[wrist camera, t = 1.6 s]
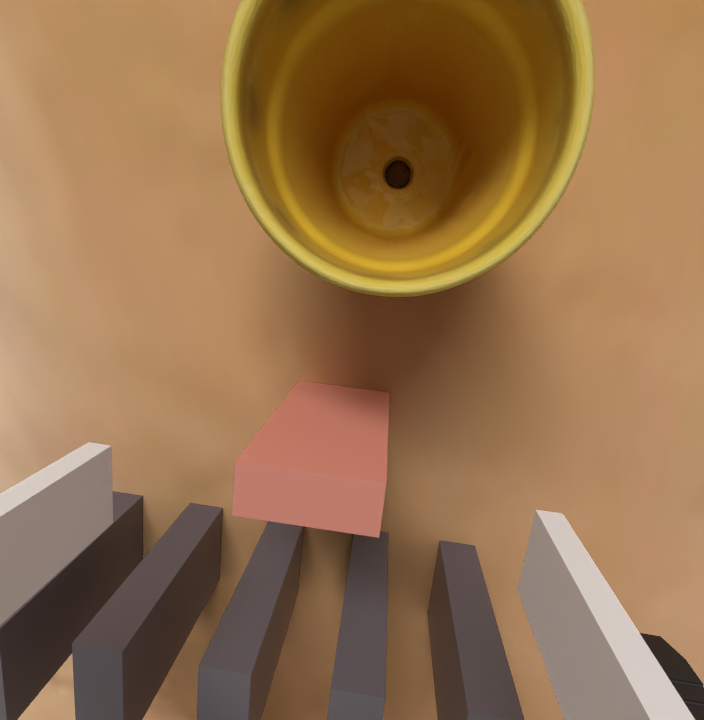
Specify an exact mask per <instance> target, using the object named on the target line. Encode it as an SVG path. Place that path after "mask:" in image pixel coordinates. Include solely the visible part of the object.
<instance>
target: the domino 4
mask: <svg viewBox="0 0 704 720" xmlns="http://www.w3.org/2000/svg"><path fill="white" fill-rule="evenodd" d="M388 423H389V392H383V391H375V390H367V389H359V388H352V387H344V386H336V385H328V384H321V383H313V382H305V381H298V383H297V384H296V385H295V386H294V388H293V389H292V390H291V391H290V393H289V394H288V395H287V396H286V398H285V399H284V400H283V401H282V403H281V404H280V405H279V407H278V408H277V409H276V410H275V412H274V413H273V414H272V415H271V417H270V418H269V419H268V420H267V422H266V423H265V424H264V425H263V427H262V428H261V429H260V430H259V432H258V433H257V434H256V436H255V437H254V438H253V439H252V441H251V442H250V443H249V444H248V446H247V447H246V448H245V449H244V451H243V452H242V453H241V454H240V456H239V457H238V458H237V459H236V461H235V469H234V490H233V511H232V516H238V517H245V518H252V519H258V520H265V521H271V522H278V523H285V524H291V525H298V526H305V527H311V528H318V529H324V530H331V531H338V532H344V533H351V534H357V535H364V536H371V537H377V538H379V535H380V528H381V520H382V513H383V506H384V498H385V491H386V484H387V454H388Z"/></svg>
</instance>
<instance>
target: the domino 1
mask: <svg viewBox="0 0 704 720" xmlns="http://www.w3.org/2000/svg"><path fill="white" fill-rule="evenodd" d="M112 495H113V523H112V524H111V525H110V526H109V527H108V528H107V529H106V530H105V531H103V532H102V533H101V534H100V535H99V536H98V537H97V538H96V539H95V540H94V541H92V542H91V543H90V544H89V545H88V546H87V547H86V548H85V549H84V550H83V551H81V552H80V553H79V554H78V555H77V556H76V557H75V558H74V559H73V560H72V561H70V562H69V563H68V564H67V565H66V566H65V567H64V568H63V569H62V570H61V571H59V572H58V573H57V574H56V575H55V576H54V577H53V578H52V579H51V580H50V581H49V582H47V583H46V584H45V585H44V586H43V587H42V588H41V589H40V590H39V591H38V592H36V593H35V594H34V595H33V596H32V597H31V598H30V599H29V600H28V601H27V602H25V603H24V604H23V605H22V606H21V607H20V608H19V609H18V610H17V611H16V612H14V613H13V614H12V615H11V616H10V617H9V618H8V619H7V620H6V621H5V622H3V623H2V624H1V625H0V720H17V719H18V718H19V717H20V716H21V714H22V713H23V712H24V711H25V709H26V708H27V707H28V706H29V705H30V703H31V702H32V701H33V700H34V699H35V697H36V696H37V695H38V694H39V692H40V691H41V690H42V689H43V688H44V686H45V685H46V684H47V683H48V682H49V680H50V679H51V678H52V677H53V675H54V674H55V673H56V672H57V671H58V669H59V668H60V667H61V666H62V664H63V663H64V662H65V661H66V660H67V658H68V657H69V656H70V655H71V654H72V643H73V642H74V640H75V639H76V638H77V637H78V636H79V634H80V633H81V632H82V631H83V630H84V629H85V627H86V626H87V625H88V624H89V623H90V621H91V620H92V619H93V618H94V617H95V616H96V614H97V613H98V612H99V611H100V610H101V608H102V607H103V606H104V605H105V604H106V602H107V601H108V600H109V599H110V598H111V597H112V595H113V594H114V593H115V592H116V591H117V589H118V588H119V587H120V586H121V585H122V584H123V582H124V581H125V580H126V579H127V578H128V576H129V575H130V574H131V573H132V572H133V570H134V569H135V568H136V567H137V566H138V565H139V563H140V562H141V561H142V560H143V496H140V495H133V494H127V493H120V492H114V491H112Z"/></svg>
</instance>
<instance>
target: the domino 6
mask: <svg viewBox="0 0 704 720" xmlns="http://www.w3.org/2000/svg"><path fill="white" fill-rule="evenodd" d="M427 613H428V623H429V634H430V644H431V655H432V665H433V675H434V686H435V696H436V706H437V717H438V720H524V717H523V713H522V710H521V706H520V703H519V699H518V696H517V692H516V689H515V685H514V682H513V678H512V675H511V671H510V668H509V664H508V661H507V657H506V654H505V650H504V647H503V643H502V640H501V636H500V633H499V629H498V626H497V622H496V619H495V615H494V612H493V608H492V605H491V601H490V598H489V594H488V591H487V587H486V584H485V580H484V577H483V573H482V570H481V566H480V563H479V559H478V556H477V552H476V549H475V546H473V545H467V544H460V543H453V542H447V541H440V543H439V548H438V554H437V560H436V566H435V572H434V578H433V583H432V589H431V595H430V601H429V607H428V612H427Z"/></svg>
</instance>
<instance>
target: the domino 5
mask: <svg viewBox="0 0 704 720" xmlns="http://www.w3.org/2000/svg"><path fill="white" fill-rule="evenodd" d="M387 582H388V533H387V532H380V535H379V538H377V537H371V536H364V535H357V534H354V535H353V542H352V549H351V555H350V562H349V569H348V576H347V583H346V589H345V596H344V603H343V610H342V617H341V624H340V630H339V637H338V644H337V651H336V658H335V664H334V671H333V678H332V685H331V692H330V701H329V709H328V718H327V720H382V717H383V710H384V704H385V689H386V635H387Z"/></svg>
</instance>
